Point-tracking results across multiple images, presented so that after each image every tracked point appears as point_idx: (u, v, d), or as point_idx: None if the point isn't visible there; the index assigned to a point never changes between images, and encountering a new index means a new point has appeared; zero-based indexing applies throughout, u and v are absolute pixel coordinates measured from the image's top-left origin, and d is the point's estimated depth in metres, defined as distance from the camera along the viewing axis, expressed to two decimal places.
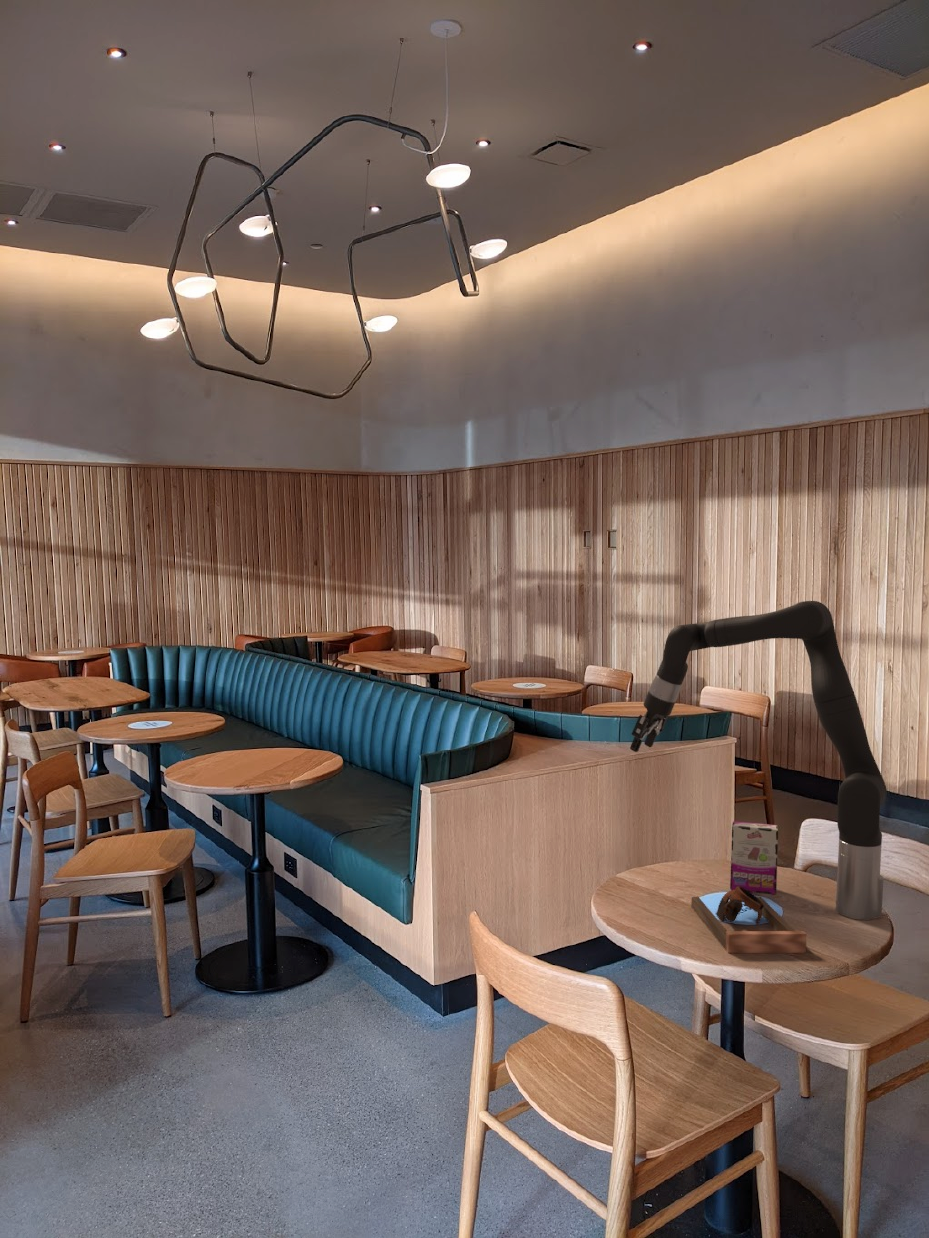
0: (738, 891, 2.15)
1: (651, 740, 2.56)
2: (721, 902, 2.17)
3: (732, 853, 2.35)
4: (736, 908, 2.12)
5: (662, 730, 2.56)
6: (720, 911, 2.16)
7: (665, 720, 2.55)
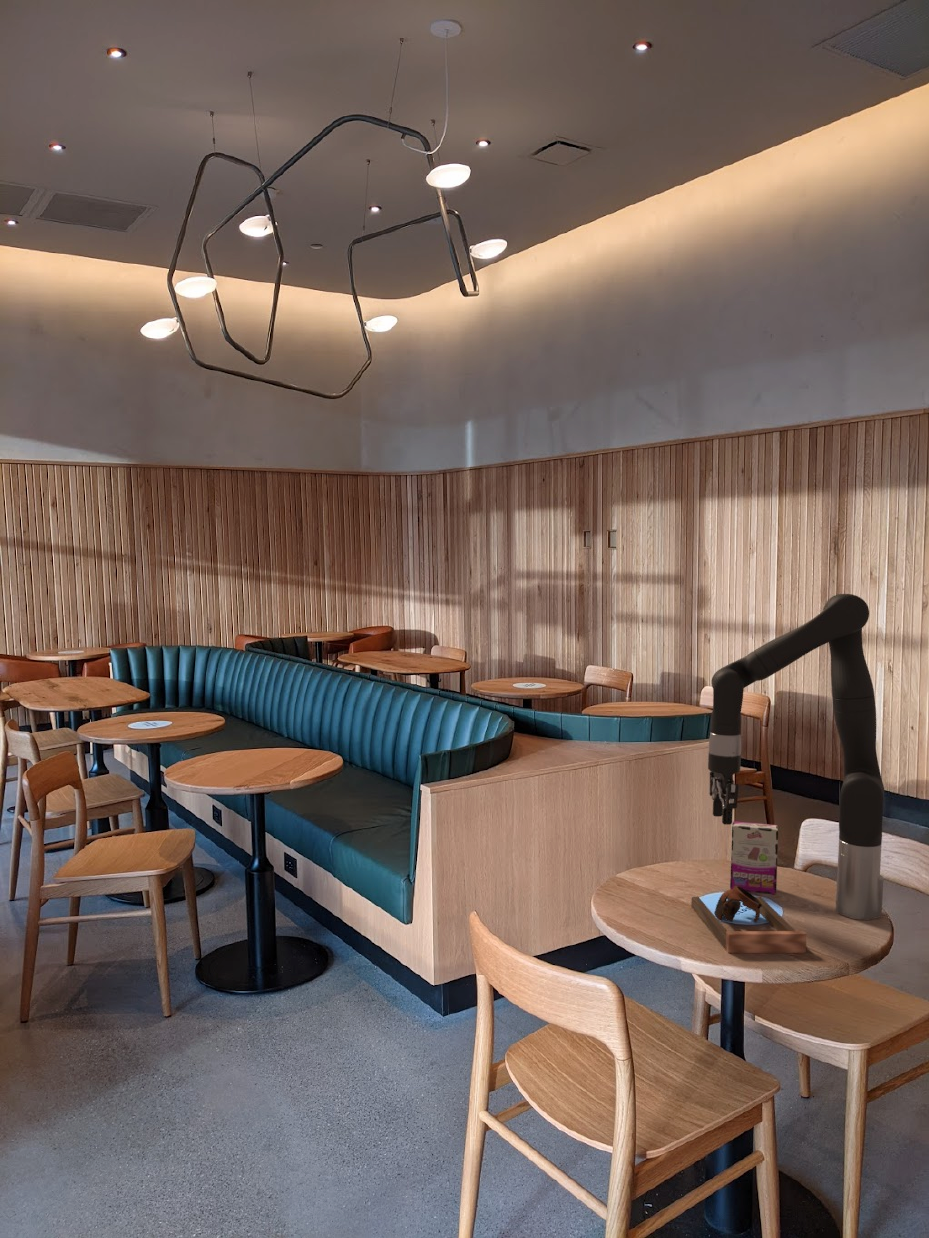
0: (736, 890, 2.16)
1: (720, 808, 2.31)
2: (719, 901, 2.18)
3: (732, 853, 2.35)
4: (734, 907, 2.13)
5: None
6: (718, 910, 2.17)
7: None
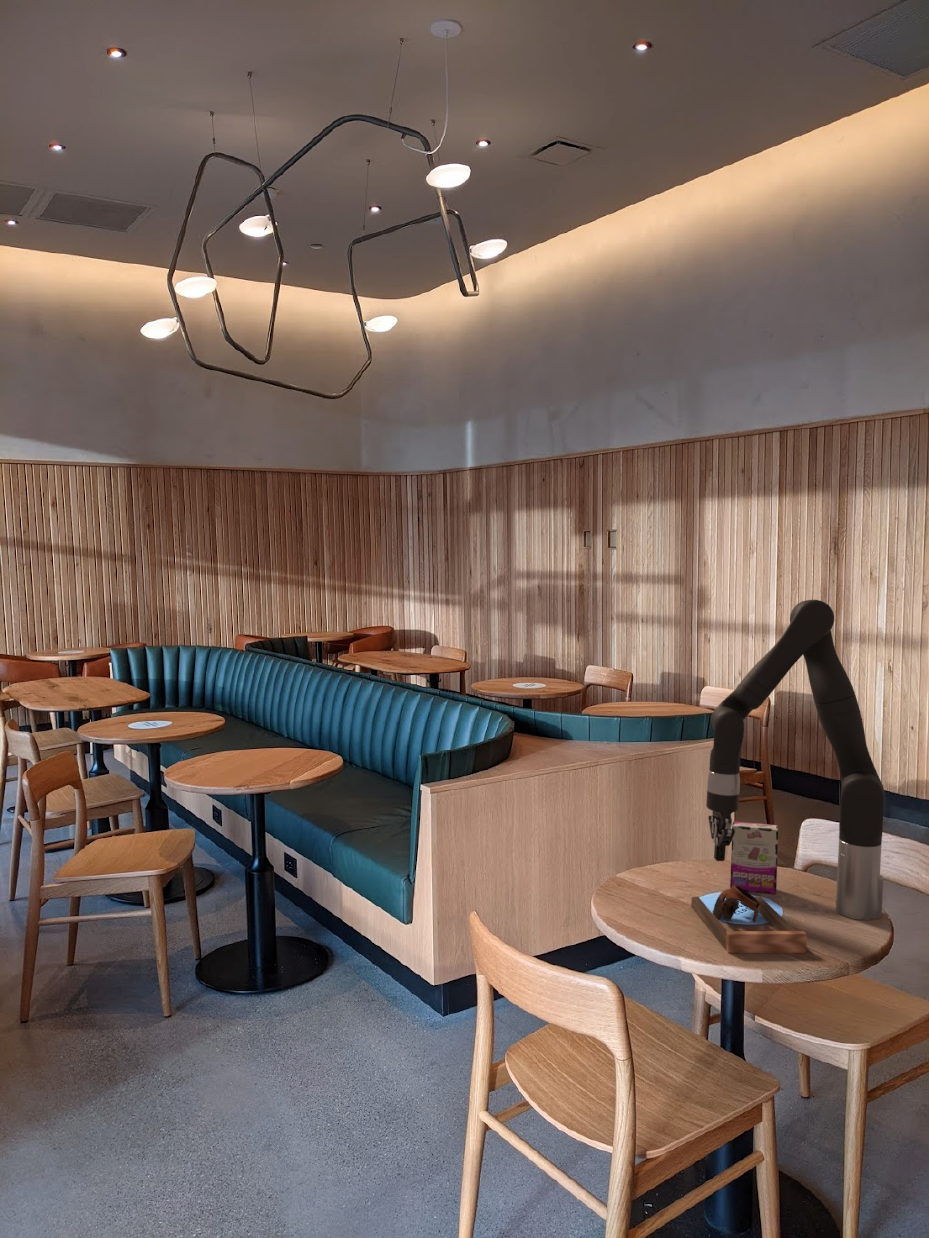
0: (734, 890, 2.16)
1: None
2: (717, 901, 2.18)
3: (732, 853, 2.35)
4: (732, 907, 2.13)
5: None
6: (716, 910, 2.17)
7: None
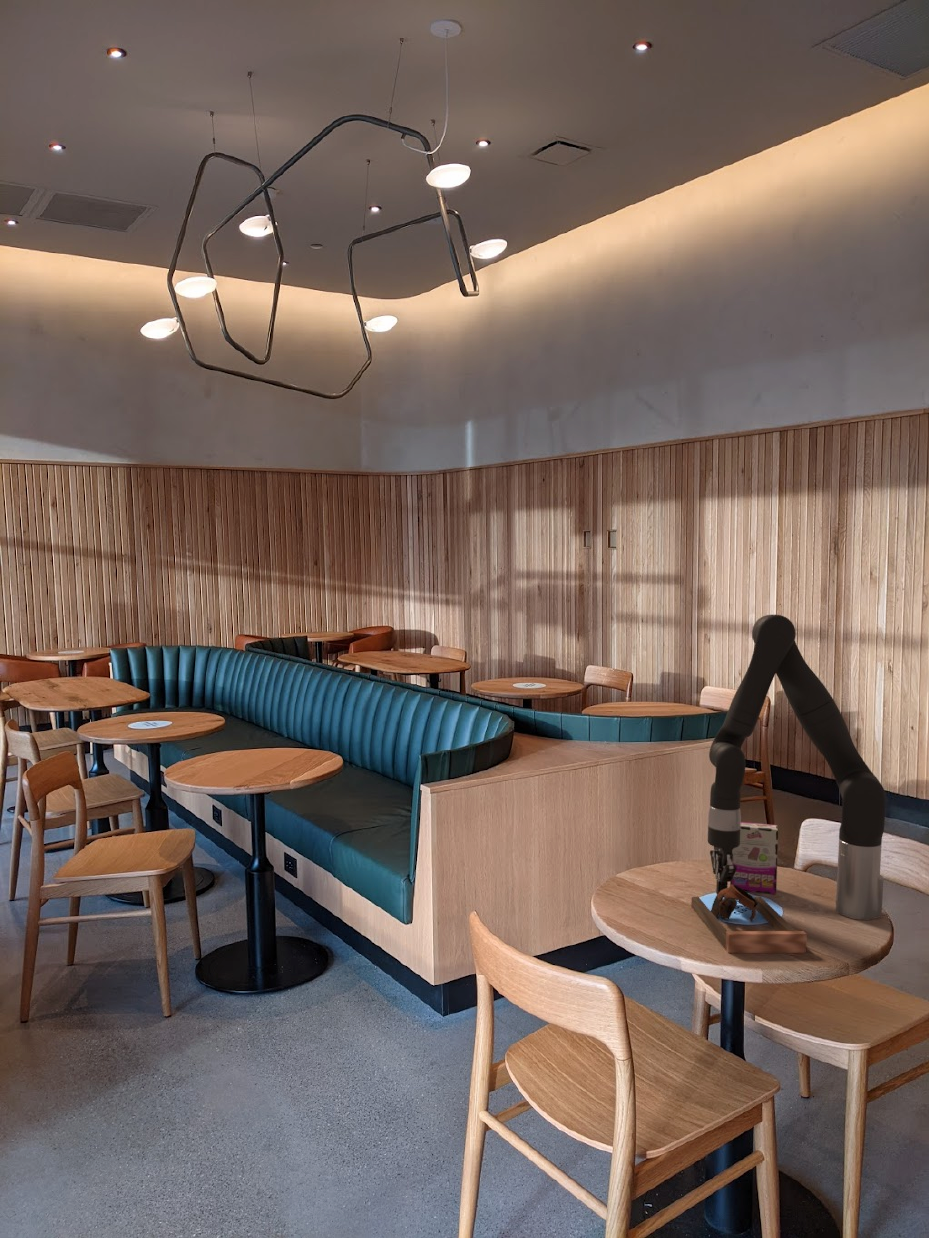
0: (732, 889, 2.17)
1: None
2: (715, 900, 2.19)
3: None
4: (730, 906, 2.14)
5: None
6: (714, 909, 2.17)
7: None
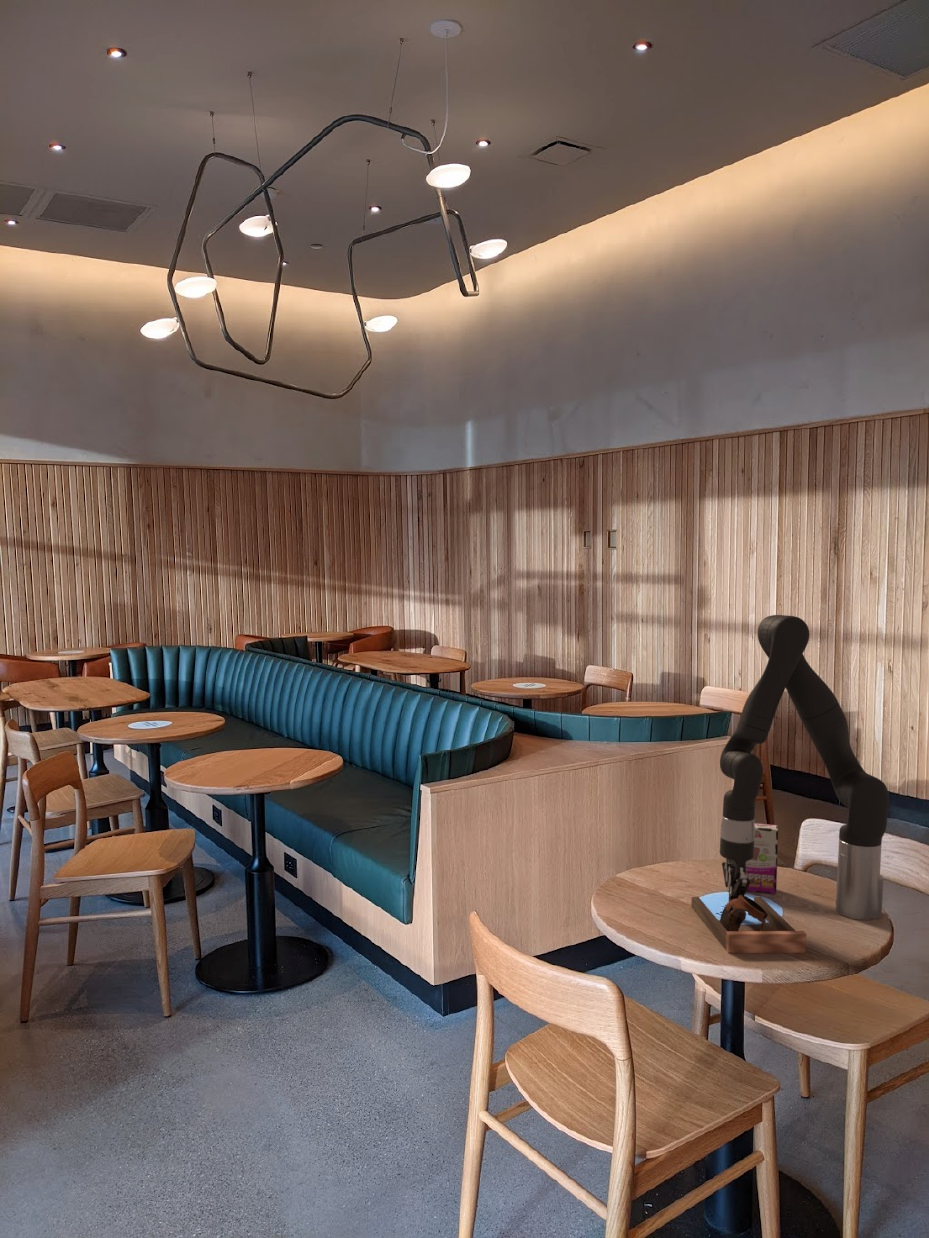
0: (741, 900, 2.09)
1: None
2: (724, 911, 2.11)
3: None
4: (740, 918, 2.07)
5: None
6: (723, 920, 2.10)
7: None
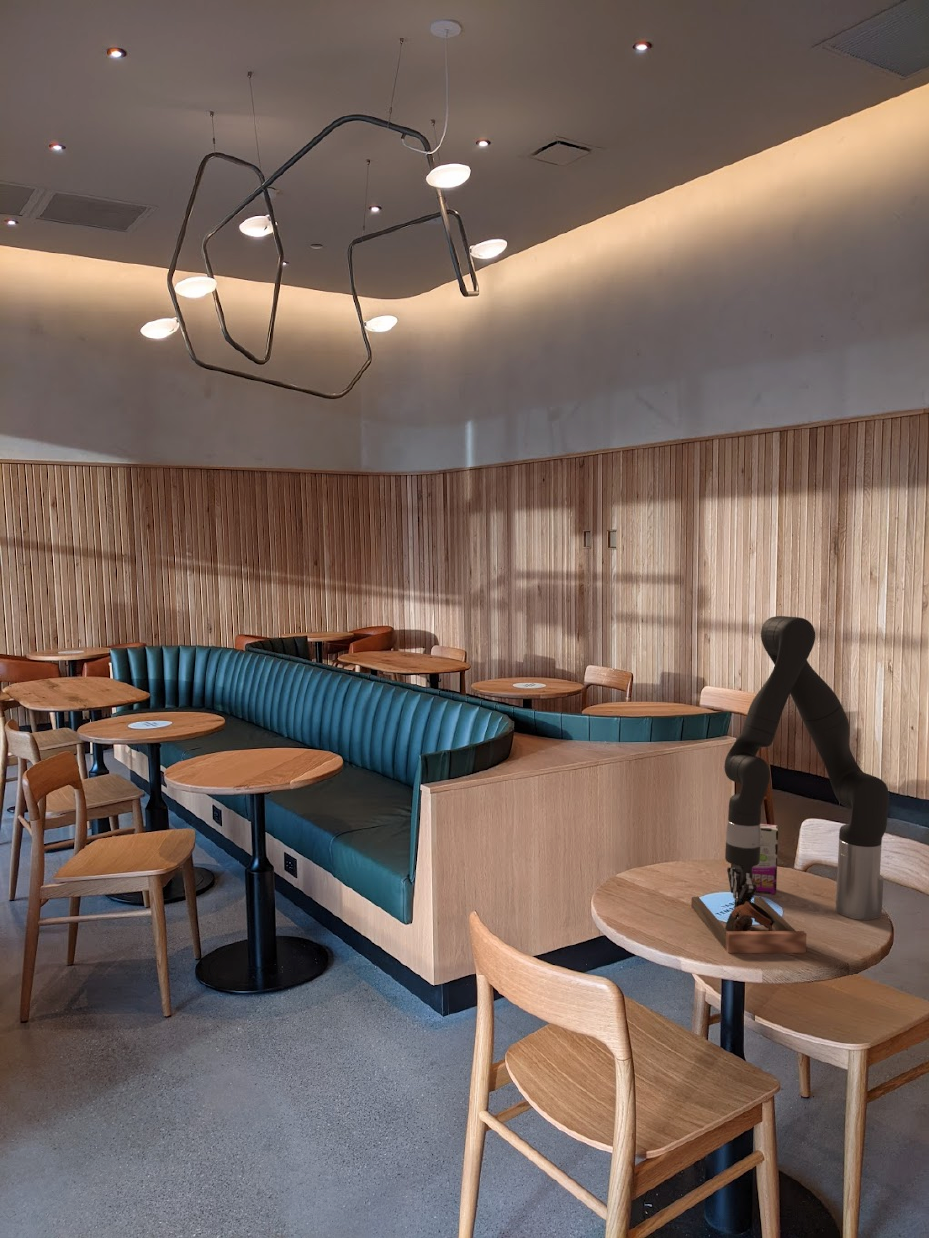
0: (748, 906, 2.06)
1: None
2: (730, 918, 2.08)
3: None
4: (746, 924, 2.03)
5: None
6: (729, 927, 2.07)
7: None
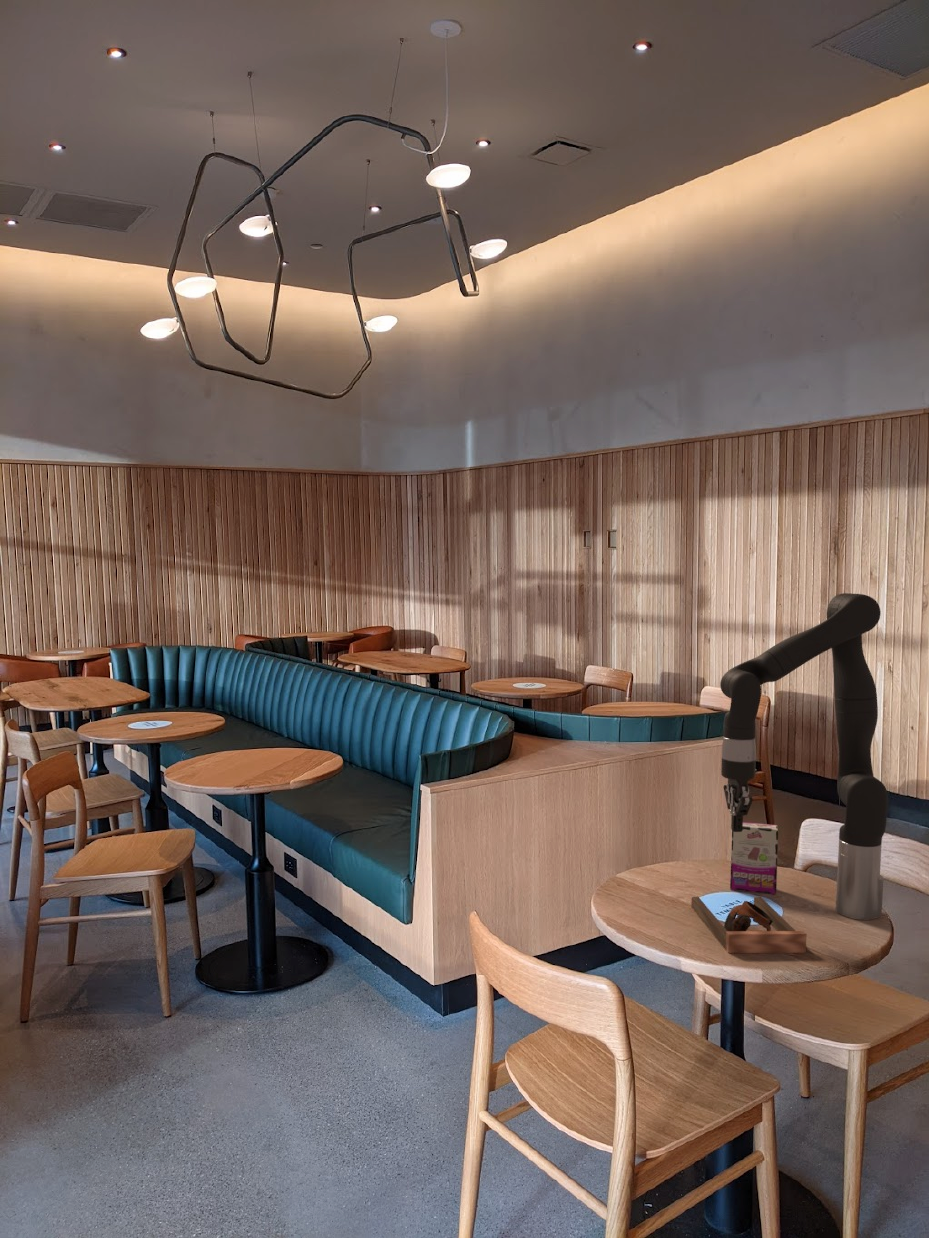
0: (746, 906, 2.06)
1: None
2: (728, 918, 2.08)
3: (732, 853, 2.35)
4: (744, 924, 2.03)
5: None
6: (727, 927, 2.07)
7: None
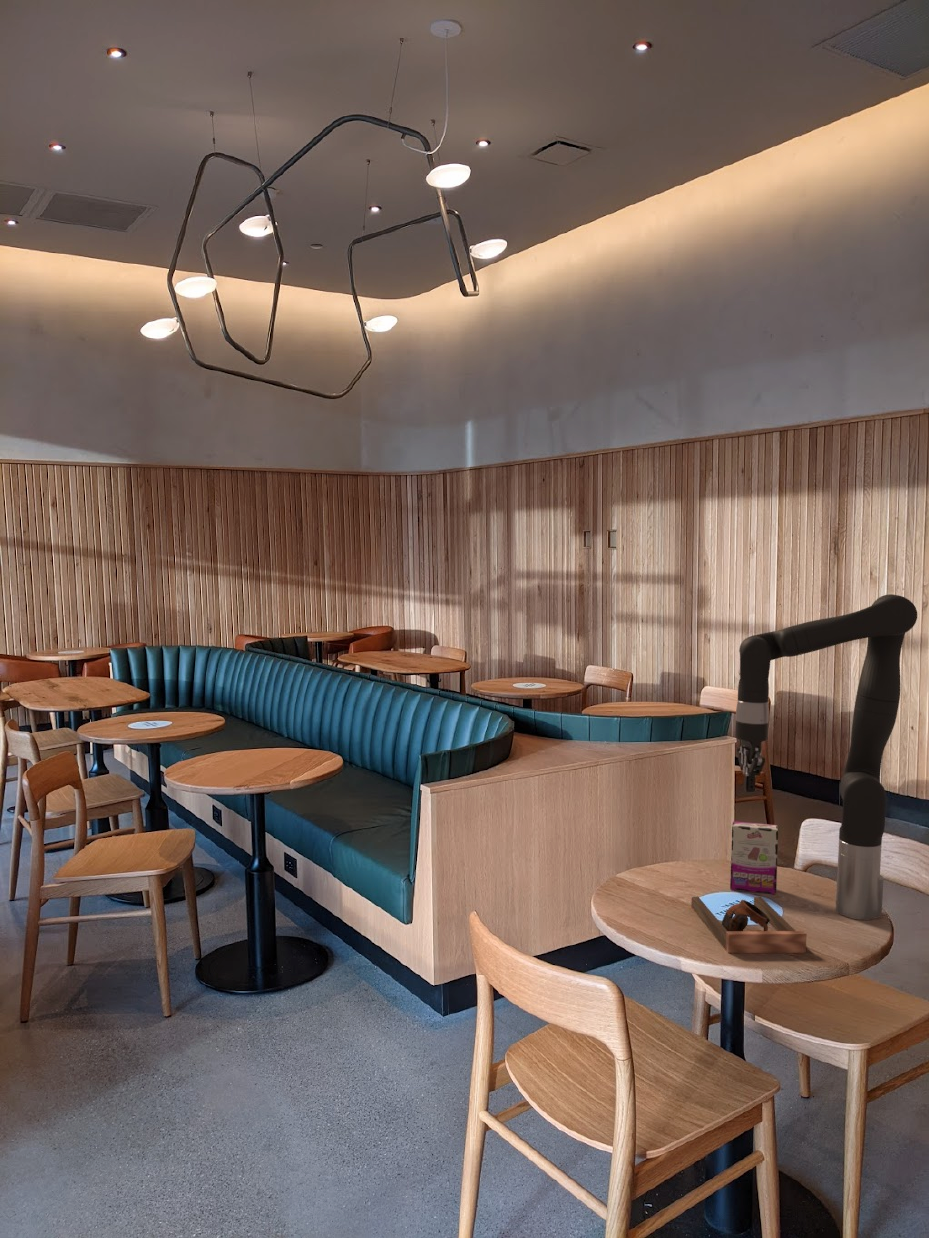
0: (743, 905, 2.07)
1: None
2: (725, 917, 2.09)
3: (732, 853, 2.35)
4: (742, 923, 2.04)
5: None
6: (724, 926, 2.07)
7: None
